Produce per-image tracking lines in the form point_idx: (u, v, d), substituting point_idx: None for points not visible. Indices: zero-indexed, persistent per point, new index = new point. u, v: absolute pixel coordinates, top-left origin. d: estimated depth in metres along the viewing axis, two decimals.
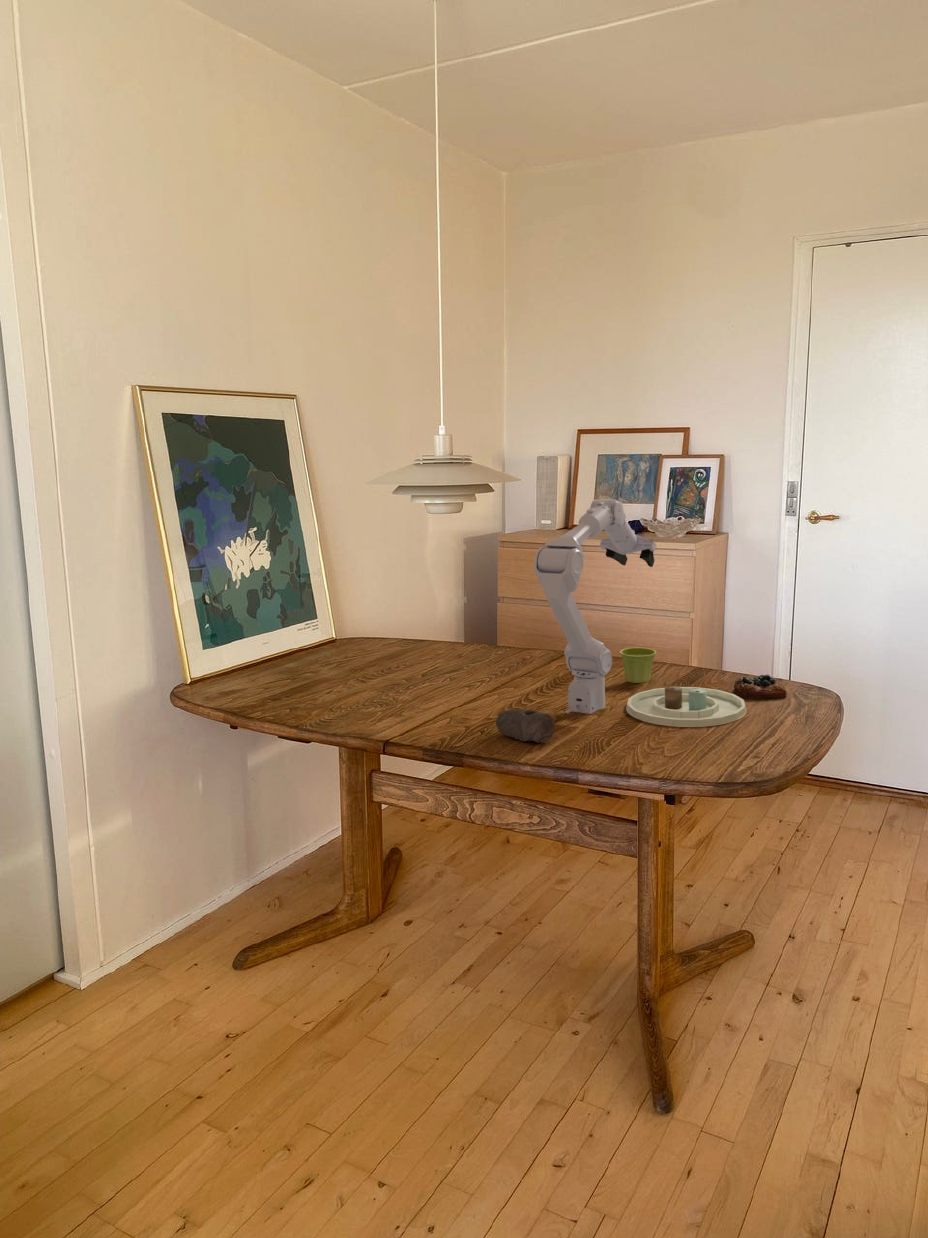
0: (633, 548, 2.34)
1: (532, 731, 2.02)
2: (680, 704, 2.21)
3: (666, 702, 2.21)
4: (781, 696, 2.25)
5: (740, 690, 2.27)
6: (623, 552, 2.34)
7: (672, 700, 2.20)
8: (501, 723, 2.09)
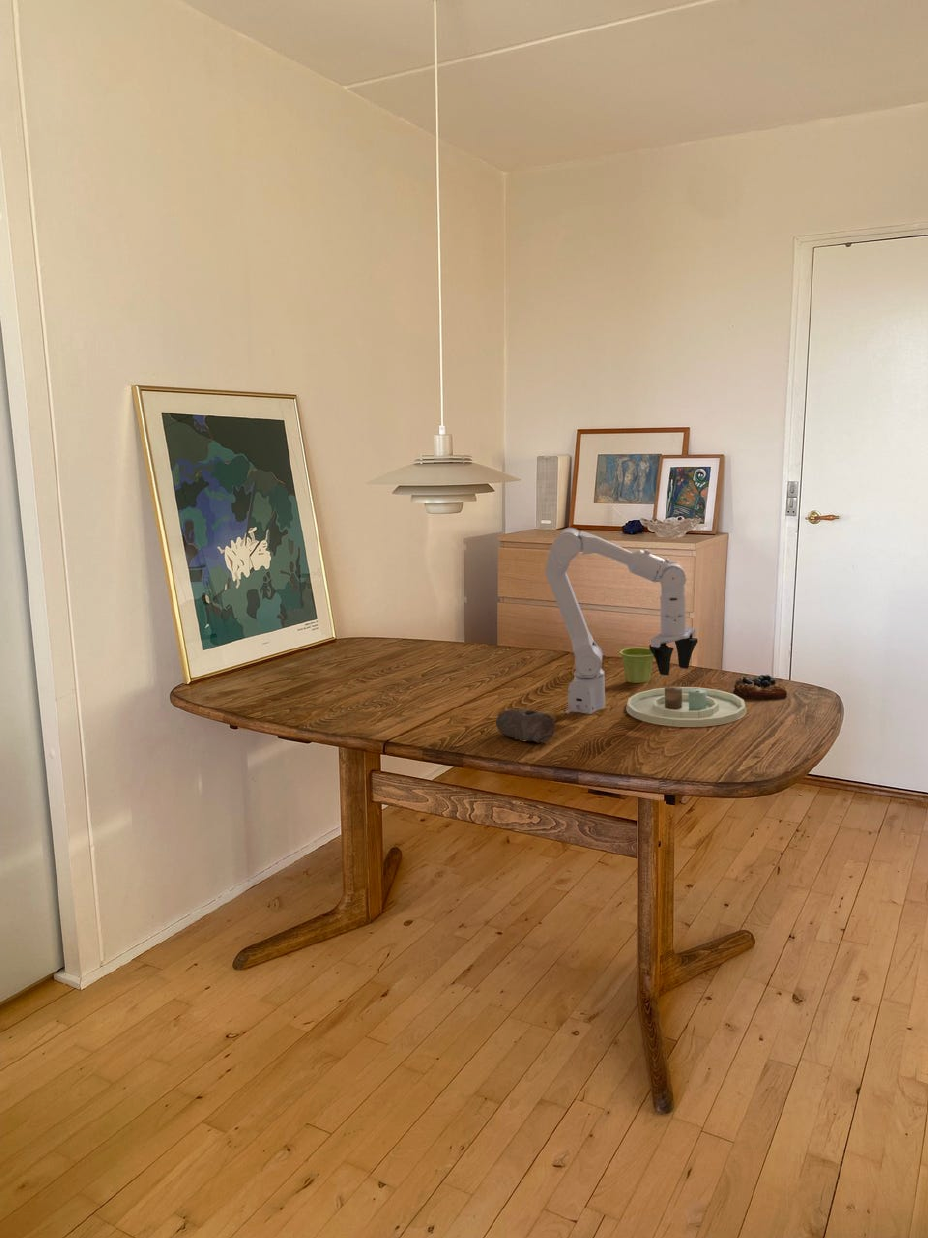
0: (661, 634, 2.19)
1: (532, 731, 2.02)
2: (680, 704, 2.21)
3: (666, 702, 2.21)
4: (781, 696, 2.25)
5: (740, 690, 2.27)
6: None
7: (672, 700, 2.20)
8: (501, 723, 2.09)
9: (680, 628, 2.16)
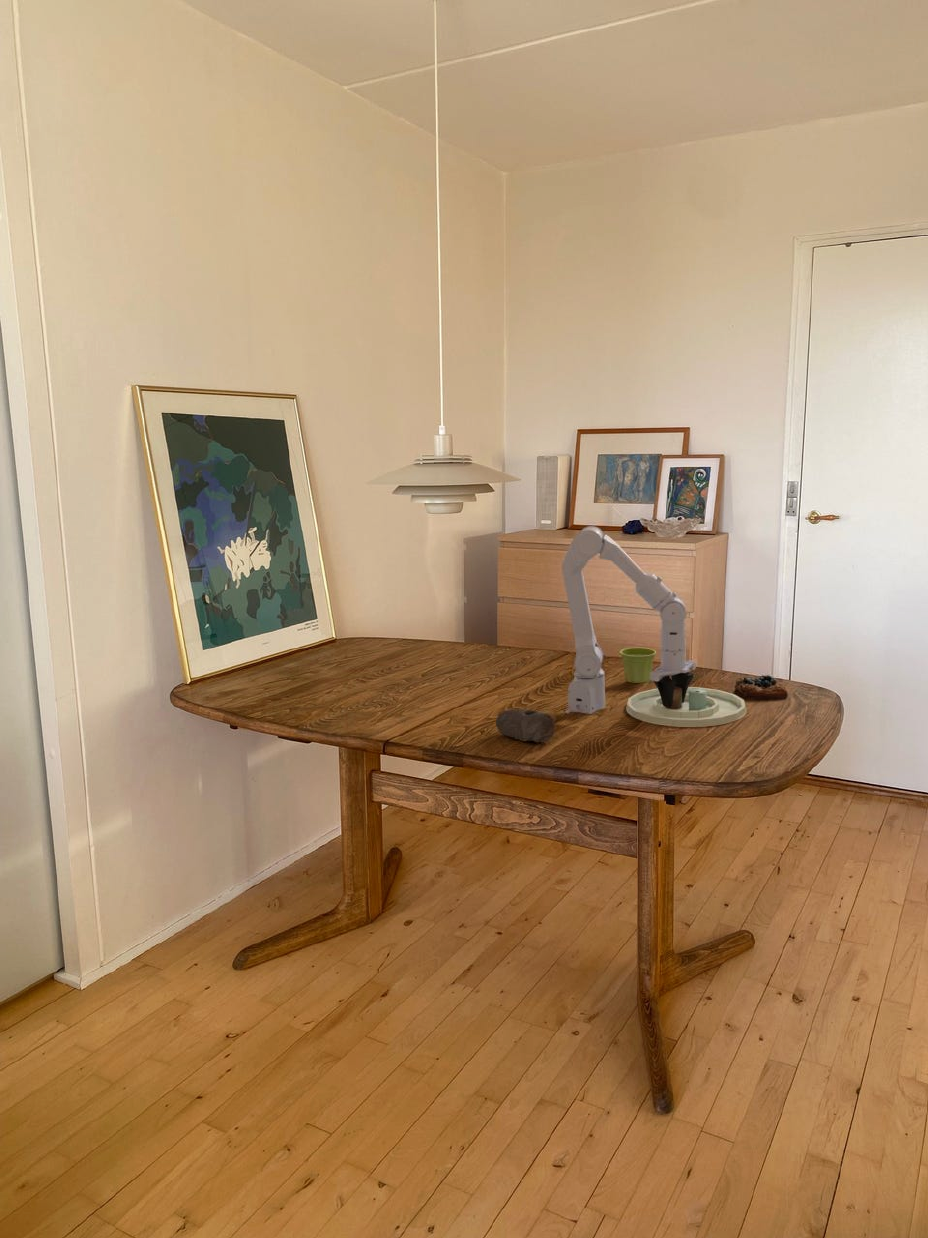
0: (661, 667, 2.20)
1: (532, 731, 2.02)
2: (680, 704, 2.21)
3: None
4: (782, 697, 2.25)
5: (741, 691, 2.27)
6: None
7: None
8: (501, 723, 2.09)
9: (680, 662, 2.18)
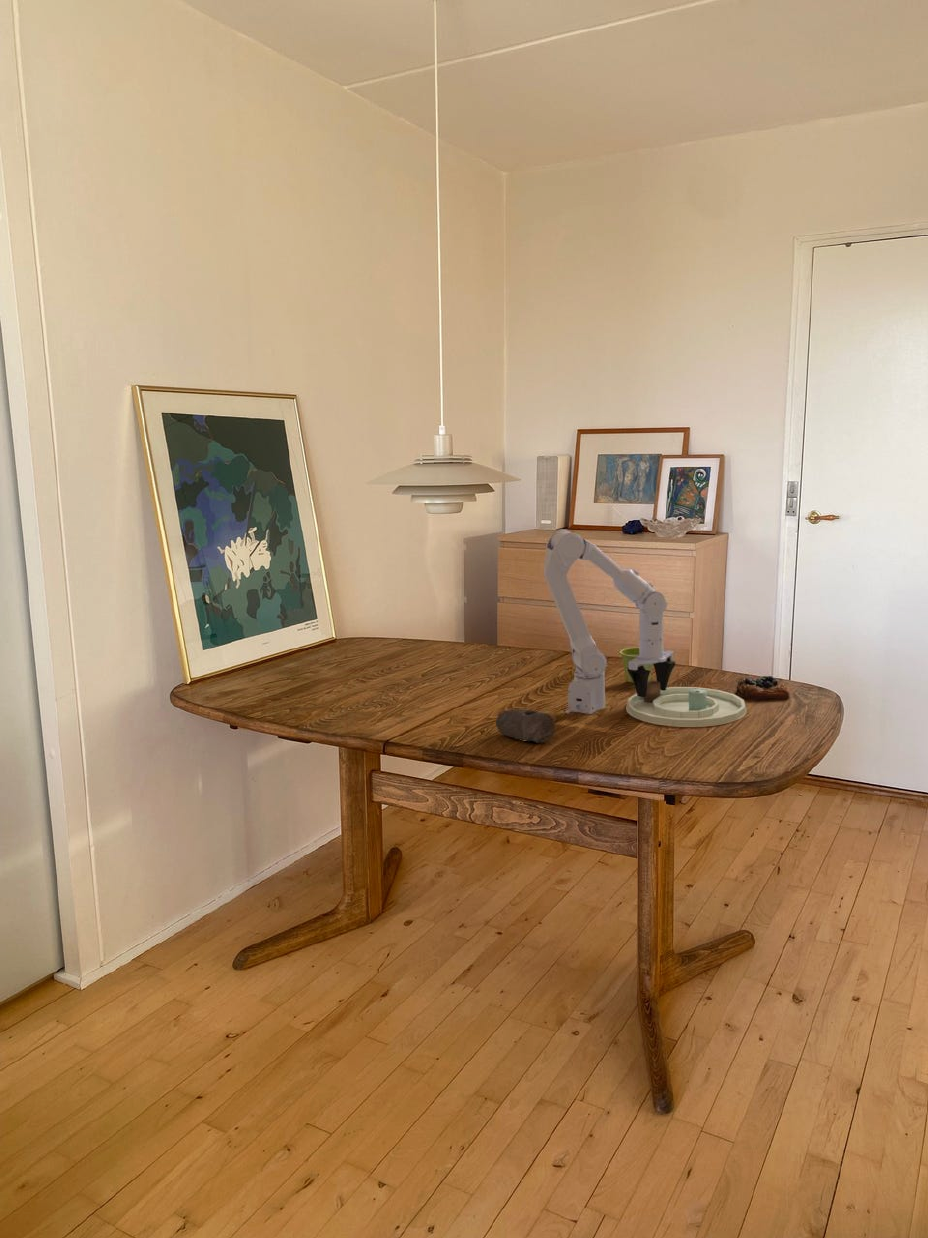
0: (639, 657, 2.26)
1: (532, 731, 2.02)
2: None
3: None
4: (783, 698, 2.24)
5: (742, 691, 2.27)
6: None
7: (651, 694, 2.26)
8: (501, 723, 2.09)
9: (658, 652, 2.23)
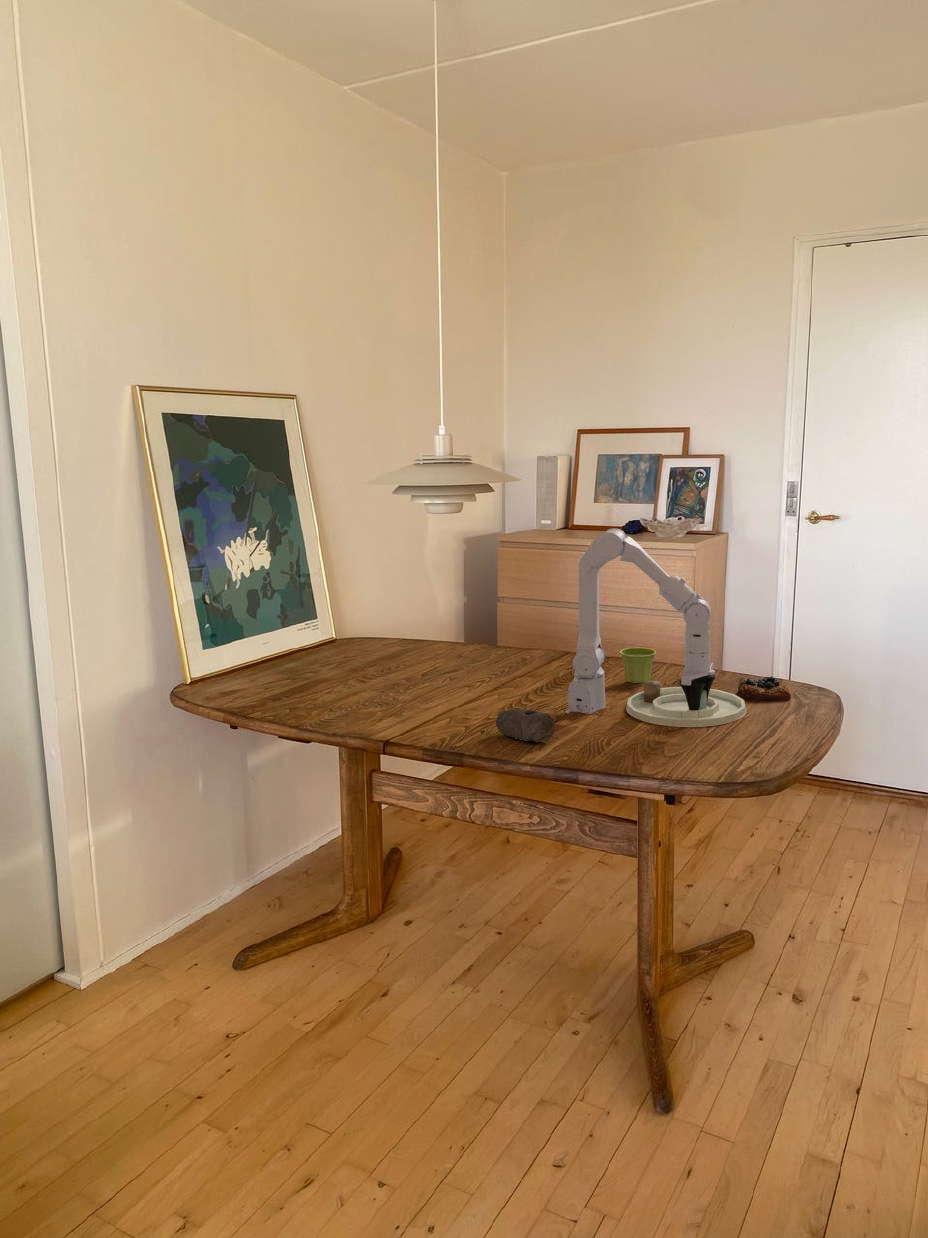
0: (686, 671, 2.16)
1: (532, 731, 2.02)
2: None
3: (645, 696, 2.27)
4: (785, 698, 2.23)
5: (743, 692, 2.26)
6: None
7: (651, 694, 2.26)
8: (501, 723, 2.09)
9: (707, 665, 2.15)
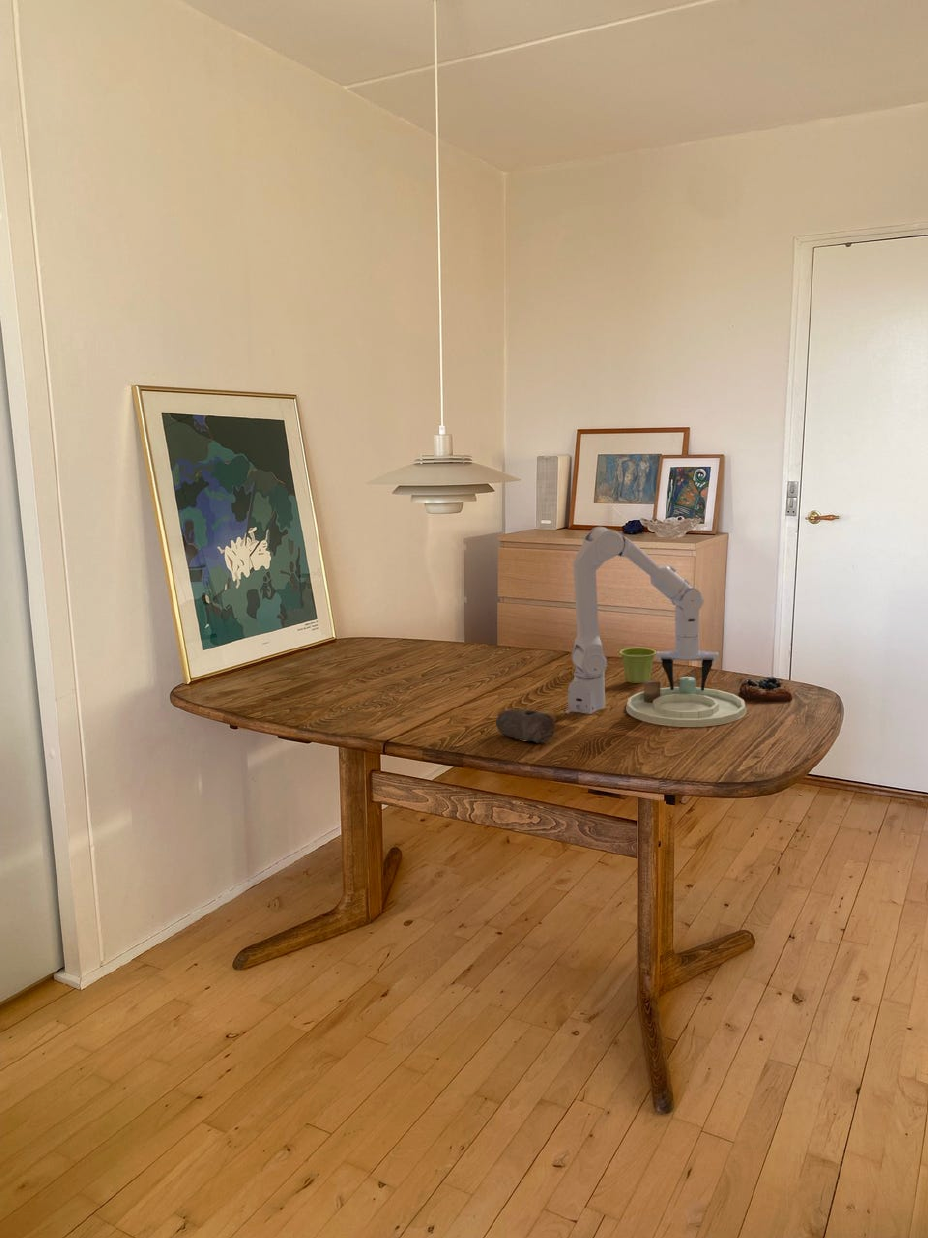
0: (697, 654, 2.26)
1: (532, 731, 2.02)
2: None
3: (645, 696, 2.27)
4: (786, 699, 2.23)
5: (744, 692, 2.25)
6: (687, 655, 2.25)
7: (651, 694, 2.26)
8: (501, 723, 2.09)
9: None
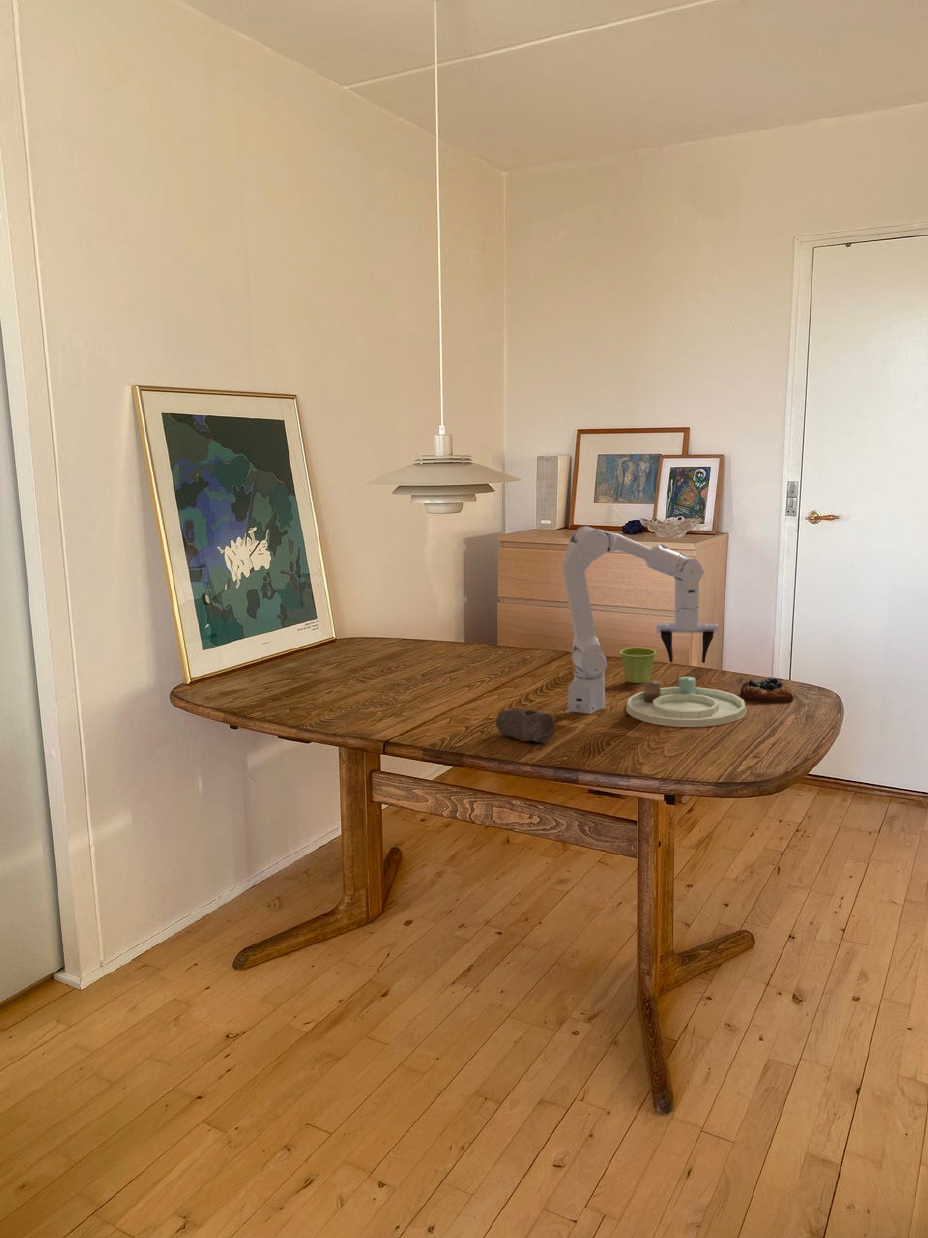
0: (697, 626, 2.24)
1: (532, 731, 2.02)
2: None
3: (645, 696, 2.27)
4: (787, 700, 2.22)
5: (745, 693, 2.25)
6: (687, 627, 2.24)
7: (651, 694, 2.26)
8: (501, 723, 2.09)
9: None
